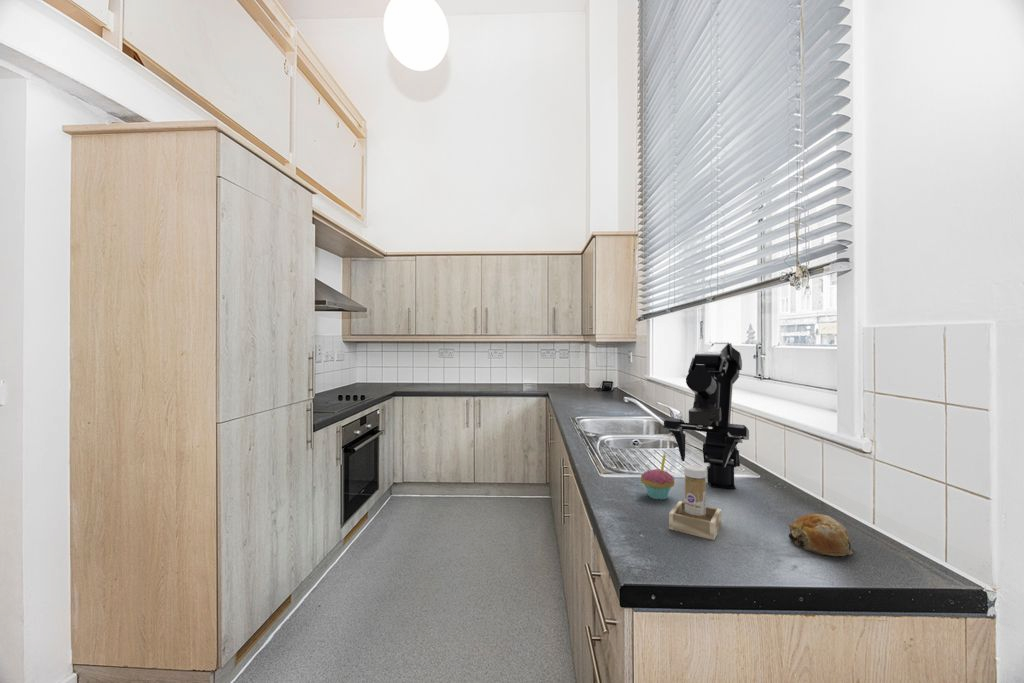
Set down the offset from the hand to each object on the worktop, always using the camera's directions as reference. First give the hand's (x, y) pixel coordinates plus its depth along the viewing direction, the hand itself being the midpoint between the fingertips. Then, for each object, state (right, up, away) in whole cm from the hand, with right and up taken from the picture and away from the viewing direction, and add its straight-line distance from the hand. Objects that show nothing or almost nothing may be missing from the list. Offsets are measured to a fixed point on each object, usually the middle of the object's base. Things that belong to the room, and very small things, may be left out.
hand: (702, 464), depth 103 cm
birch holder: (-5, -12, -8) cm, 15 cm away
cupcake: (-7, -12, +11) cm, 18 cm away
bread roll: (+16, -12, -17) cm, 26 cm away
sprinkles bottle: (-5, -12, -8) cm, 15 cm away
